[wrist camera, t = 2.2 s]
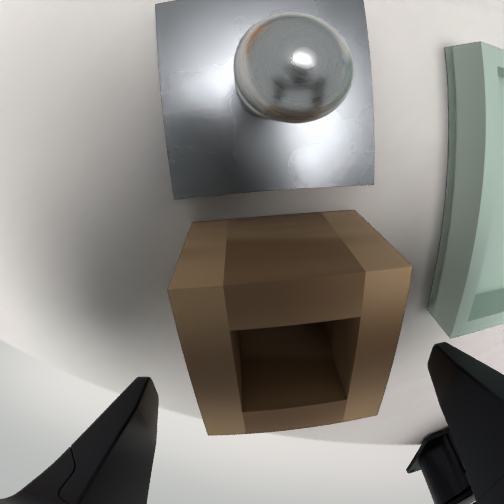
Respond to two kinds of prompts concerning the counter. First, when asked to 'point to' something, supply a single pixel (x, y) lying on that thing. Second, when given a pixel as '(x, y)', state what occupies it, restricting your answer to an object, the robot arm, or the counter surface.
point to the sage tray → (472, 195)
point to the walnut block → (288, 319)
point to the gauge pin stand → (265, 95)
